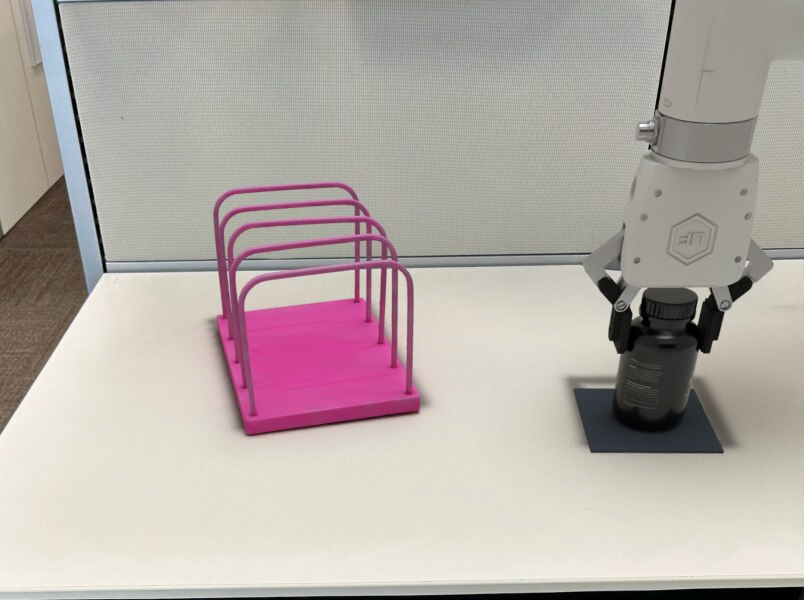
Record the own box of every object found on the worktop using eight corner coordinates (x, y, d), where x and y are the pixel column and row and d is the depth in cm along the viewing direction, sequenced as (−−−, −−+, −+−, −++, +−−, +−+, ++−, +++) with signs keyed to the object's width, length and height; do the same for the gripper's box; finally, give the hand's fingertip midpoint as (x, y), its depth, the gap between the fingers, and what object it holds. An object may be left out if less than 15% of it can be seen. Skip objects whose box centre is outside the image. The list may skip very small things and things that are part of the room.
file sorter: (363, 311, 110) (360, 172, 100) (421, 413, 91) (425, 253, 81) (217, 329, 107) (199, 187, 97) (246, 436, 89) (228, 275, 79)
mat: (693, 390, 94) (693, 388, 94) (723, 452, 85) (723, 451, 84) (573, 390, 94) (573, 388, 94) (590, 452, 85) (591, 450, 85)
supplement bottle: (698, 424, 88) (728, 302, 80) (637, 439, 86) (661, 316, 78) (655, 392, 93) (679, 274, 85) (596, 406, 91) (615, 287, 83)
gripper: (598, 152, 71) (569, 366, 83) (830, 149, 70) (768, 366, 82) (585, 126, 77) (559, 330, 88) (799, 123, 76) (745, 329, 87)
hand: (660, 345), depth 85 cm, fingers closed on supplement bottle, 6 cm apart
